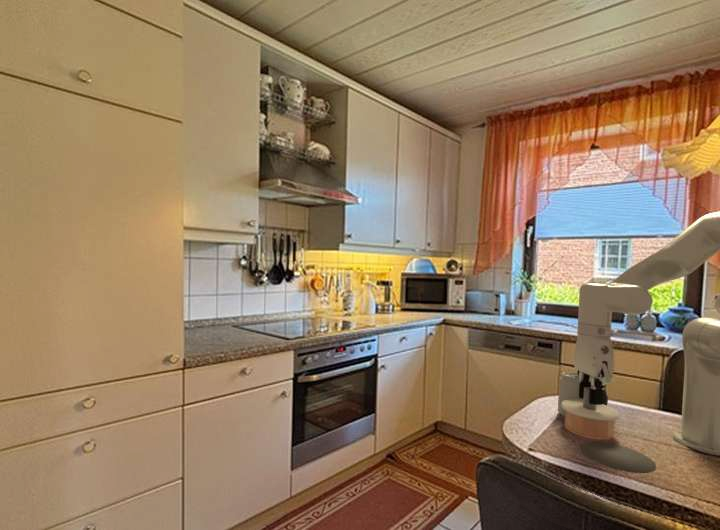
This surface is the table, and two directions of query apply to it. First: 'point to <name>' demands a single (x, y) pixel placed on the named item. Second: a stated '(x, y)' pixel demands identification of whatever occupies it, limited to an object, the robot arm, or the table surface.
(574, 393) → the can
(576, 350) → the robot arm
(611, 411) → the lid
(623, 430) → the table surface
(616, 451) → the mat
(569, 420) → the bowl
